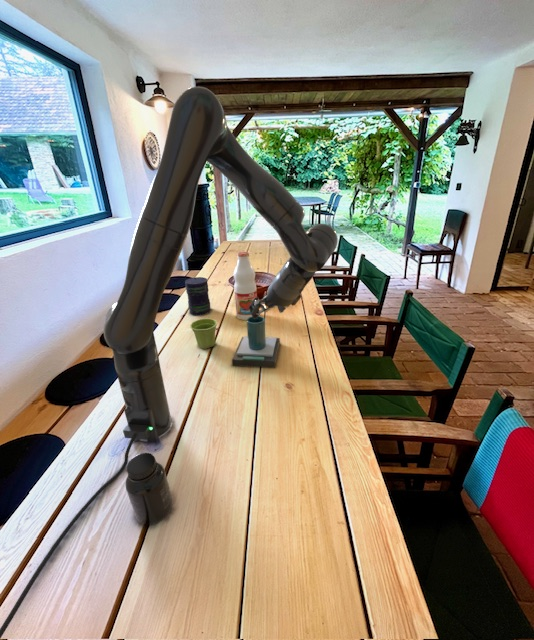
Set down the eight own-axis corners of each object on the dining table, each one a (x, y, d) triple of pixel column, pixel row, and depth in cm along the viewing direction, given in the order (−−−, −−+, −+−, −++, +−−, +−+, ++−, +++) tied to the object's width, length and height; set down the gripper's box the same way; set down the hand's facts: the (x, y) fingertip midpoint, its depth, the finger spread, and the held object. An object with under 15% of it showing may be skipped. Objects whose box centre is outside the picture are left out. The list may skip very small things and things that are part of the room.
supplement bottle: (159, 486, 65) (148, 441, 60) (180, 505, 61) (169, 459, 56) (128, 511, 61) (113, 465, 56) (148, 534, 57) (133, 487, 52)
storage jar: (213, 313, 146) (209, 281, 140) (191, 317, 143) (186, 285, 137) (208, 306, 154) (204, 276, 148) (187, 309, 151) (183, 279, 145)
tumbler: (264, 350, 107) (263, 323, 103) (246, 350, 108) (245, 323, 104) (267, 342, 113) (266, 316, 108) (250, 341, 113) (248, 315, 109)
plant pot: (214, 352, 114) (211, 330, 110) (189, 350, 116) (186, 328, 112) (222, 339, 122) (220, 319, 119) (199, 338, 124) (196, 317, 120)
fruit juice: (251, 310, 148) (247, 249, 136) (261, 317, 140) (258, 253, 129) (233, 315, 143) (227, 252, 132) (242, 322, 136) (237, 256, 124)
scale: (274, 367, 103) (274, 359, 102) (232, 365, 105) (231, 357, 104) (279, 343, 118) (279, 335, 116) (242, 342, 120) (241, 334, 118)
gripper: (304, 269, 85) (283, 297, 99) (256, 278, 79) (240, 306, 93) (316, 293, 83) (292, 319, 97) (267, 305, 77) (249, 330, 91)
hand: (267, 312), depth 95 cm, fingers open, 8 cm apart
